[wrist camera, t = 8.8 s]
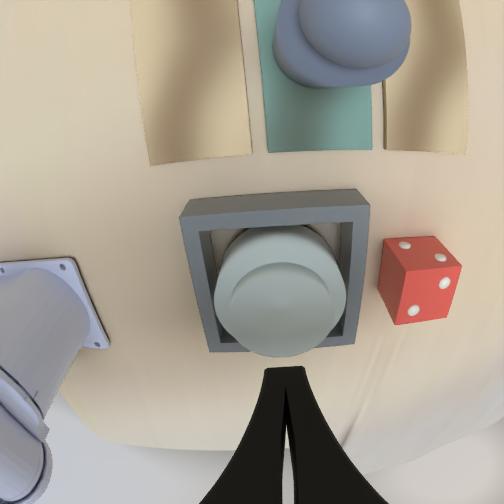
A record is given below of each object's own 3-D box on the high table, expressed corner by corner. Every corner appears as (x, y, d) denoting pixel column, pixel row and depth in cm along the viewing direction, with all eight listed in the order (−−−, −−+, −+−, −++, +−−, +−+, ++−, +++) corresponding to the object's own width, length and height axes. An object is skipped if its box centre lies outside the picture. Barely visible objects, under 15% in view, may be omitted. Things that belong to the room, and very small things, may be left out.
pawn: (276, 89, 13) (292, 84, 6) (268, 12, 11) (273, -68, 4) (359, 89, 13) (453, 94, 6) (352, 13, 11) (434, -45, 4)
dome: (228, 322, 19) (221, 369, 16) (212, 226, 16) (198, 264, 13) (333, 316, 19) (344, 362, 15) (338, 218, 16) (357, 255, 12)
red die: (377, 288, 19) (395, 326, 16) (384, 237, 17) (407, 270, 14) (424, 284, 18) (447, 318, 15) (434, 234, 17) (463, 265, 14)
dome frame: (214, 326, 21) (209, 352, 18) (189, 199, 16) (179, 217, 14) (346, 318, 20) (354, 344, 18) (356, 189, 16) (370, 205, 14)
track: (152, 164, 15) (150, 166, 15) (133, -10, 11) (130, -12, 10) (462, 152, 14) (466, 154, 14) (452, -10, 9) (456, -11, 9)
